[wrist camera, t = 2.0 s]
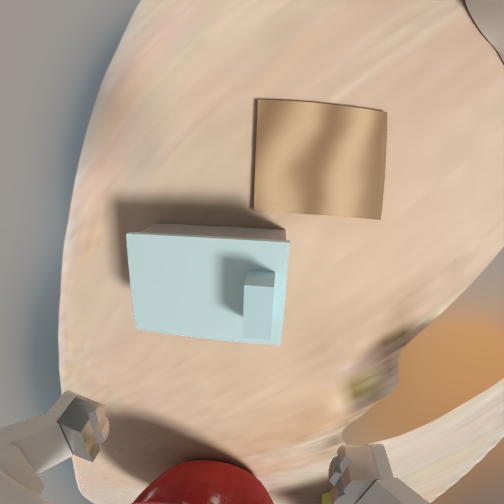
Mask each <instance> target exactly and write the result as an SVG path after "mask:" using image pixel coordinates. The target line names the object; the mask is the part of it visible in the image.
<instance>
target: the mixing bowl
mask: <svg viewBox="0 0 504 504" xmlns="http://www.w3.org/2000/svg"><path fill="white" fill-rule="evenodd" d="M132 504H274V503H273V501H272V499H271V497H270V496H269V494H268V492H267V491H266V489H265V487H264V486H263V485H262V483H261V482H260V481H259V480H258V479H257V478H256V477H255V476H253V475H252V474H250V473H249V472H247V471H245V470H243V469H241V468H239V467H237V466H235V465H232V464H229V463H226V462H222V461H216V460H196V461H188V462H184V463H180V464H178V465H176V466H174V467H172V468H170V469H169V470H167V471H166V472H164V473H163V474H162V475H161V476H159V477H158V478H157V479H156V480H154V481H153V482H152V483H151V484H150V485H149V486H148V487H147V488H146V489H145V490H144V491H143V492H142V493H141V494H140V495H139V496H138V497H137V498H136V500H135V501H134V502H133V503H132Z"/></svg>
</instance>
